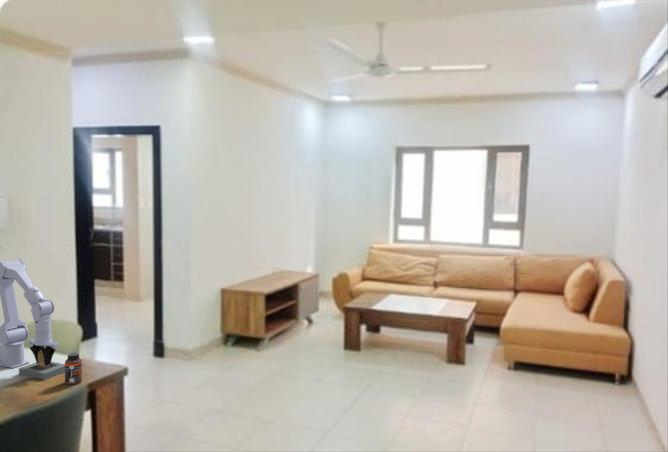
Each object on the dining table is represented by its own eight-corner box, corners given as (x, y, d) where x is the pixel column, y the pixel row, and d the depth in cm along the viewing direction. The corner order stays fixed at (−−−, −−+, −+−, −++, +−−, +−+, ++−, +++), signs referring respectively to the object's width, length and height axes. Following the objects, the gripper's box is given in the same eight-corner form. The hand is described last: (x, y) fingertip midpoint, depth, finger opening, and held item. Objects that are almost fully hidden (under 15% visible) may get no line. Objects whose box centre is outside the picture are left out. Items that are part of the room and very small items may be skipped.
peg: (35, 371, 215) (35, 352, 214) (44, 368, 218) (44, 349, 218) (43, 373, 213) (42, 353, 213) (51, 370, 217) (51, 351, 216)
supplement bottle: (75, 386, 203) (74, 357, 202) (61, 384, 204) (61, 355, 203) (85, 380, 209) (85, 352, 208) (72, 379, 210) (71, 351, 209)
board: (19, 374, 213) (18, 367, 213) (42, 365, 224) (42, 359, 223) (45, 379, 208) (44, 372, 208) (68, 370, 219) (67, 364, 218)
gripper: (64, 330, 216) (65, 363, 217) (38, 326, 221) (39, 358, 222) (50, 335, 209) (50, 368, 210) (23, 330, 214) (23, 363, 215)
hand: (43, 363), depth 216 cm, fingers closed on peg, 4 cm apart
